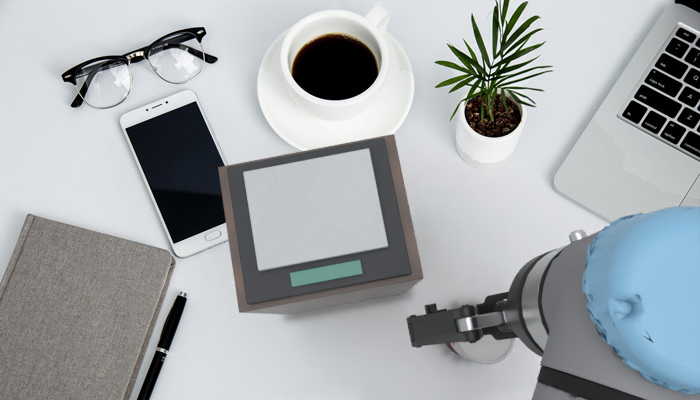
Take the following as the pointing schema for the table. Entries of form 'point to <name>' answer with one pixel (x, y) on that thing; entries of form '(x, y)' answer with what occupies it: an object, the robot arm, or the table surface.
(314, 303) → the stand
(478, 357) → the beverage can
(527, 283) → the robot arm
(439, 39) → the table surface
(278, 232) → the scale
